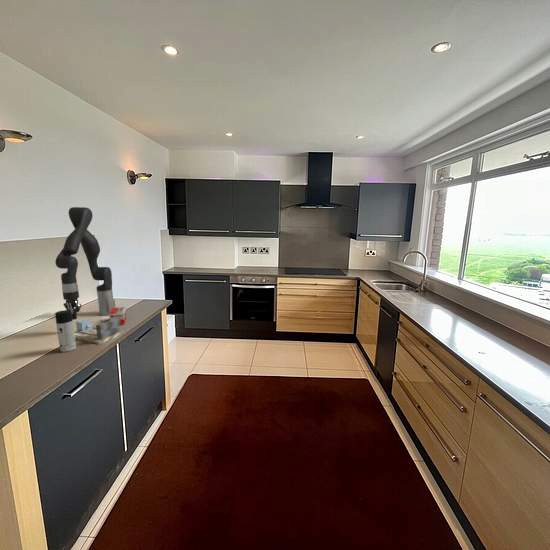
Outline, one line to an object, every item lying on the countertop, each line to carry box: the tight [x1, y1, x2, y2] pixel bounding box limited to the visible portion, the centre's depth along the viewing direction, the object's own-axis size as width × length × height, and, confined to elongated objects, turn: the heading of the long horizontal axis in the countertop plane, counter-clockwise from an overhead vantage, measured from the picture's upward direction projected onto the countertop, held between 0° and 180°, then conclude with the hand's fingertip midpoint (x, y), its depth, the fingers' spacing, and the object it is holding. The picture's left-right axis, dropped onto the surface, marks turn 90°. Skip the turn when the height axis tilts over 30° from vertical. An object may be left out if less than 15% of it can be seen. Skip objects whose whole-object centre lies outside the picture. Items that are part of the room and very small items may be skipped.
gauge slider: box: [74, 318, 93, 332], centre depth 166 cm, size 10×6×6 cm, turn 158°
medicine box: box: [108, 306, 127, 326], centre depth 186 cm, size 15×8×8 cm, turn 23°
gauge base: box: [74, 318, 125, 345], centre depth 165 cm, size 16×26×10 cm, turn 68°
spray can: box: [54, 309, 77, 353], centre depth 146 cm, size 7×7×20 cm
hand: (74, 319), depth 170 cm, fingers closed
